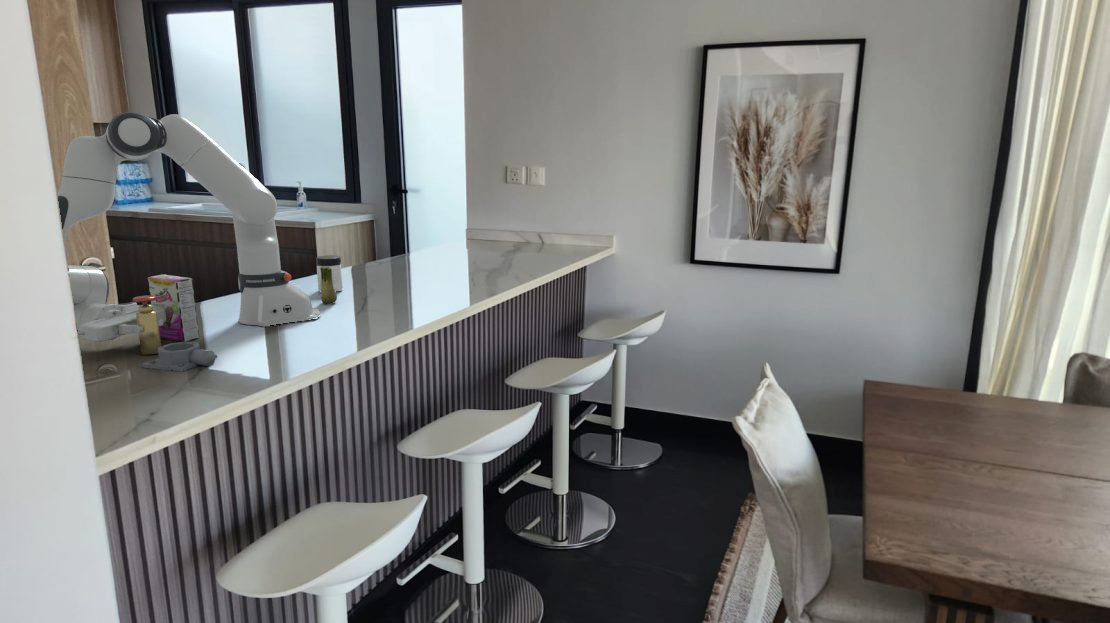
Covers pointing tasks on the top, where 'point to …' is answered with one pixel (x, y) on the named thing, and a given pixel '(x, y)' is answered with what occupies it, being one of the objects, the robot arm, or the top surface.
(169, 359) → the fitting
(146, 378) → the top surface
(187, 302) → the candy bar box
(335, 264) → the jar
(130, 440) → the top surface
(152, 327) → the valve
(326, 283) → the fennel bulb
